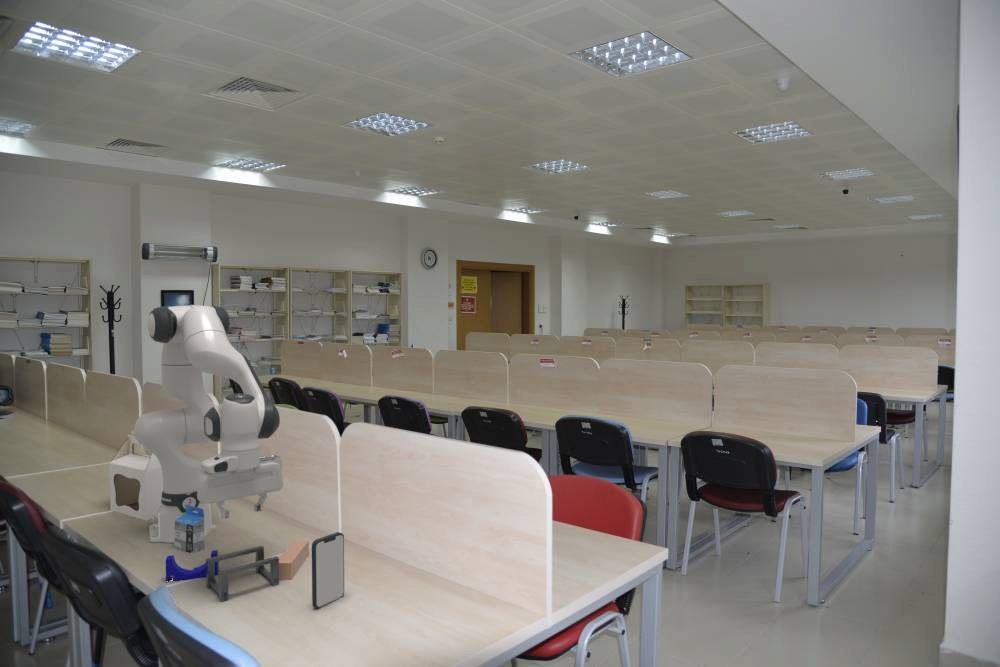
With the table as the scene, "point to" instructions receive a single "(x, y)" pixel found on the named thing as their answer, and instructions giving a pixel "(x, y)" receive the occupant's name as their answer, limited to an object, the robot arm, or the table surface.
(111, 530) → the table surface
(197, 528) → the label tape box
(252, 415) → the robot arm
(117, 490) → the gable box
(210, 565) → the grey metal frame stand
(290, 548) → the salmon orange rectangular block
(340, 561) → the black smartphone
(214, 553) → the blue curved cradle stand
